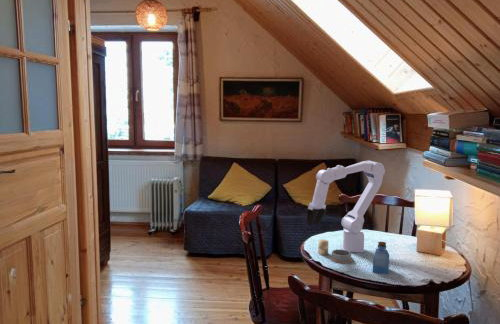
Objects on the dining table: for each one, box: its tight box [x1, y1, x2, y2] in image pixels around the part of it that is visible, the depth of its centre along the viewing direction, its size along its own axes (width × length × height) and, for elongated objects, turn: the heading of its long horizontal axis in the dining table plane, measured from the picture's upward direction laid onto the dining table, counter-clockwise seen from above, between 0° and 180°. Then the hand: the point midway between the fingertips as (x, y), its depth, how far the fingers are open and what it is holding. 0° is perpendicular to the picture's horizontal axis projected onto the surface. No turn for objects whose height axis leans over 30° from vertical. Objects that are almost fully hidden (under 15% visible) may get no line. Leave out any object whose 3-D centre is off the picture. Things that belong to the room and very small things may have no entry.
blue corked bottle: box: [372, 241, 390, 275], centre depth 169 cm, size 6×6×12 cm
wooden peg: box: [317, 239, 329, 256], centre depth 189 cm, size 4×4×6 cm
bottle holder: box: [329, 248, 354, 264], centre depth 182 cm, size 10×10×3 cm
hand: (313, 224), depth 188 cm, fingers open, 7 cm apart
